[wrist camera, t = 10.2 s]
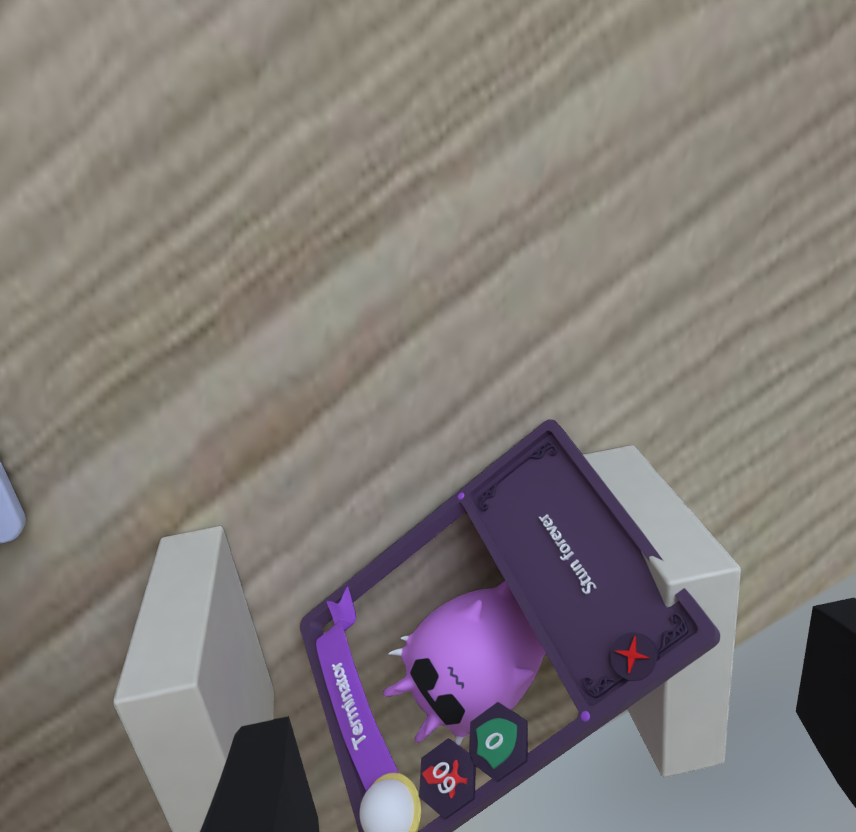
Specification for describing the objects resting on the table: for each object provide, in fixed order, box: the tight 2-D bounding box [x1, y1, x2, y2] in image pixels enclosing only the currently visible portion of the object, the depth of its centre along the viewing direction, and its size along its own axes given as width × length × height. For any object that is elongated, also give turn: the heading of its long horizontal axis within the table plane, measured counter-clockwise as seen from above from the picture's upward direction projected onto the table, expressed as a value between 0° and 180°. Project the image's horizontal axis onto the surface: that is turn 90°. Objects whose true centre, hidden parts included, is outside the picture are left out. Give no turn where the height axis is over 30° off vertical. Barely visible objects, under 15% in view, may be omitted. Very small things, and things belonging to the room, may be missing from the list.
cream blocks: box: [113, 445, 741, 832], centre depth 18 cm, size 13×6×5 cm, turn 97°
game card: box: [300, 420, 720, 832], centre depth 18 cm, size 7×5×9 cm
